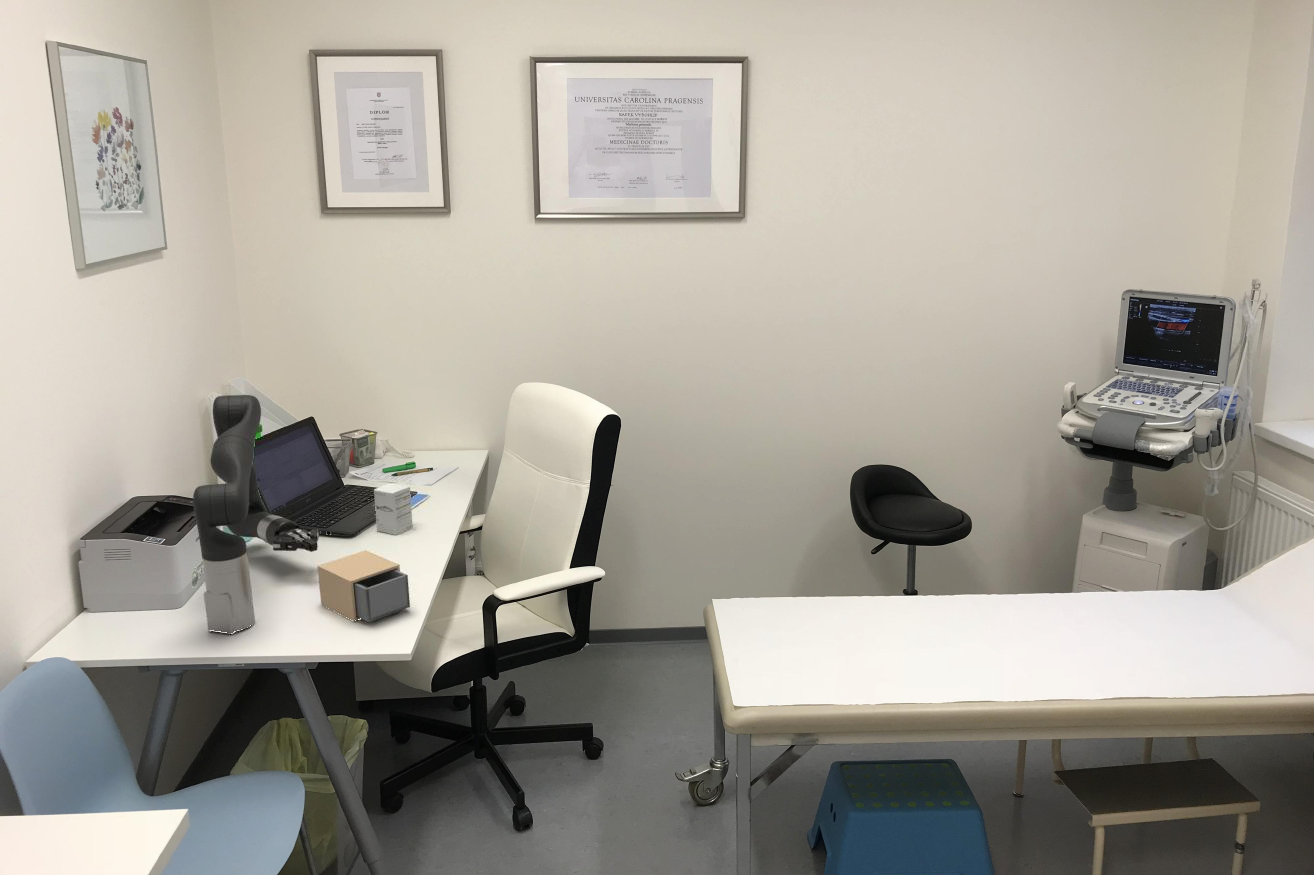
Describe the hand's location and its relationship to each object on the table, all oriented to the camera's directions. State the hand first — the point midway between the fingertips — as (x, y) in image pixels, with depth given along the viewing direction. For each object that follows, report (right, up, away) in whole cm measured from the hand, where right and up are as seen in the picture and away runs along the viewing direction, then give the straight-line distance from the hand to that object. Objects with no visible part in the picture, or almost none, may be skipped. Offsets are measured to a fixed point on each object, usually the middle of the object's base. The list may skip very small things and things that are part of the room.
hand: (314, 547), depth 250 cm
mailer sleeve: (+15, -13, -10) cm, 22 cm away
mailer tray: (+16, -12, -11) cm, 22 cm away
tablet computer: (+5, +6, +61) cm, 61 cm away
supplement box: (+10, +1, +39) cm, 41 cm away
